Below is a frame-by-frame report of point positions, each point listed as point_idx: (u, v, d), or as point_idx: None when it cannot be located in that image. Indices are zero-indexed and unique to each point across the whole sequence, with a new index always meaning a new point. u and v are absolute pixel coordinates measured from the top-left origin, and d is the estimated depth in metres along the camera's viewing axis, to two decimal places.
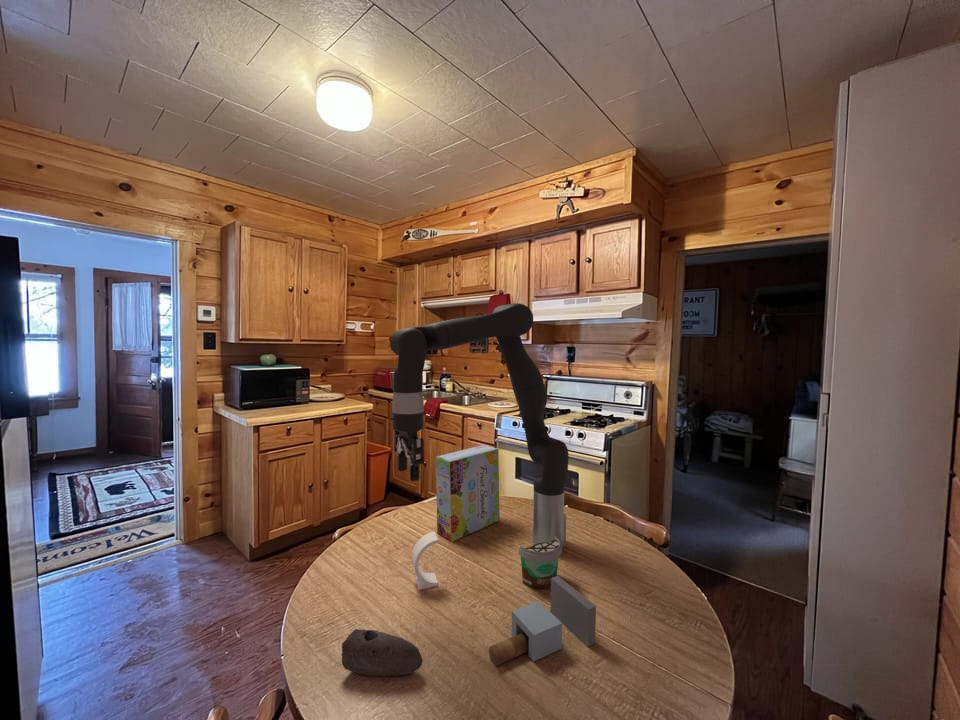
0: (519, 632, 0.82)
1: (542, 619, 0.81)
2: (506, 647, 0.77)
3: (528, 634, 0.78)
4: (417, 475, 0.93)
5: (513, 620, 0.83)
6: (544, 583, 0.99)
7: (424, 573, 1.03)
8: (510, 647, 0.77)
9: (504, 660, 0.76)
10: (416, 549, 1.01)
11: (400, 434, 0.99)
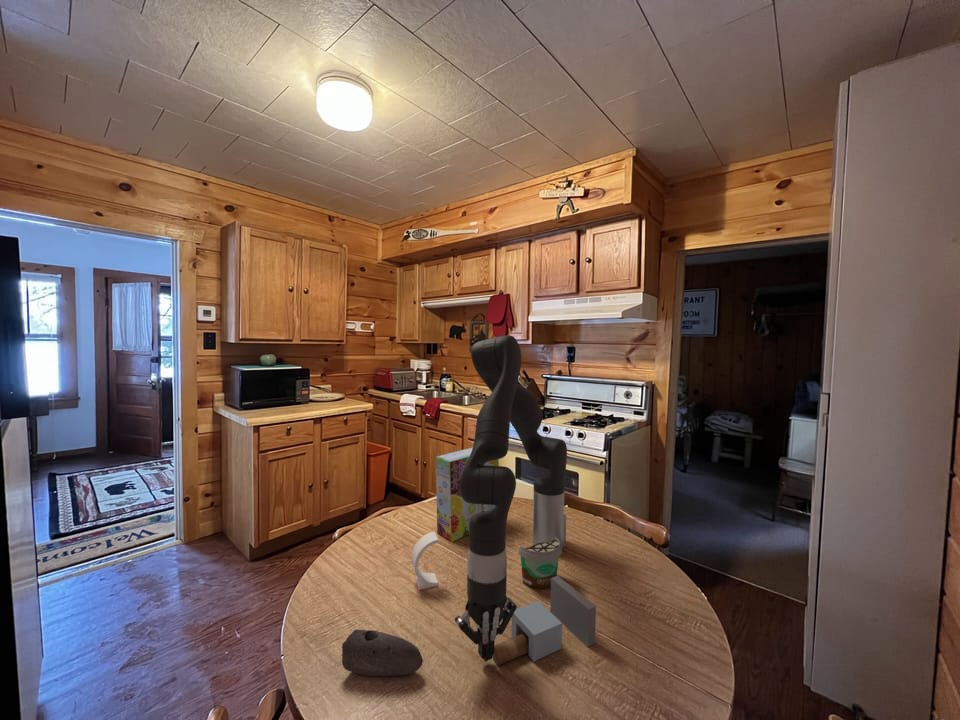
0: (519, 632, 0.82)
1: (542, 619, 0.81)
2: (509, 649, 0.77)
3: (528, 634, 0.78)
4: None
5: (512, 620, 0.83)
6: (544, 583, 0.99)
7: (424, 572, 1.03)
8: (513, 648, 0.77)
9: (506, 661, 0.76)
10: (416, 549, 1.01)
11: (477, 610, 0.73)
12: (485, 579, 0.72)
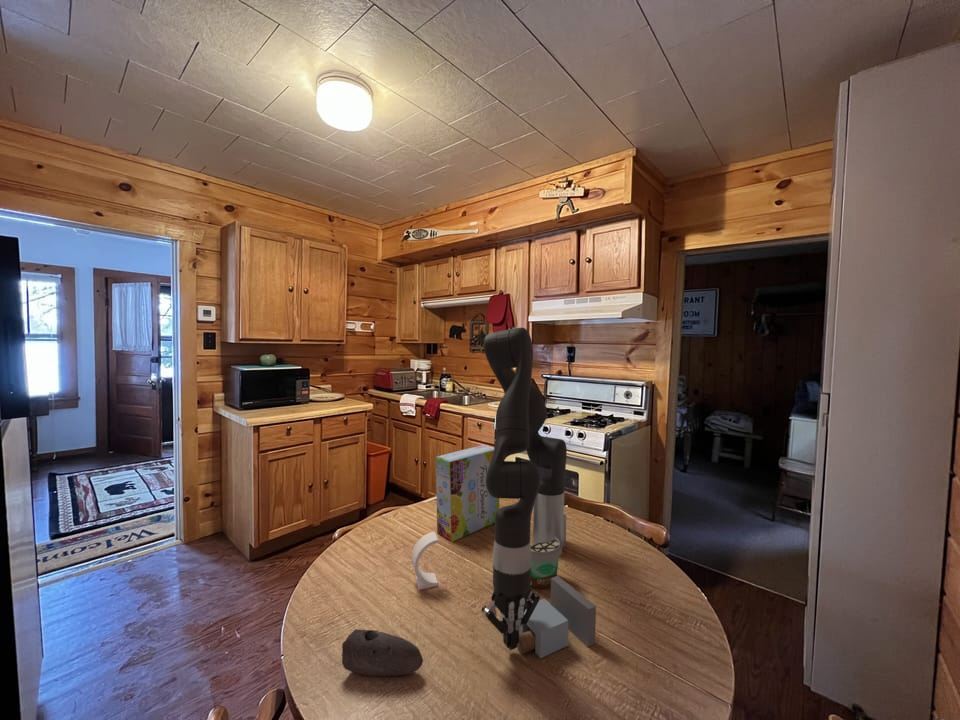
0: (525, 629, 0.83)
1: (548, 616, 0.81)
2: (533, 638, 0.79)
3: (535, 631, 0.79)
4: None
5: None
6: (544, 583, 0.99)
7: (424, 572, 1.03)
8: None
9: (530, 649, 0.79)
10: (416, 549, 1.01)
11: (503, 600, 0.76)
12: (511, 570, 0.74)
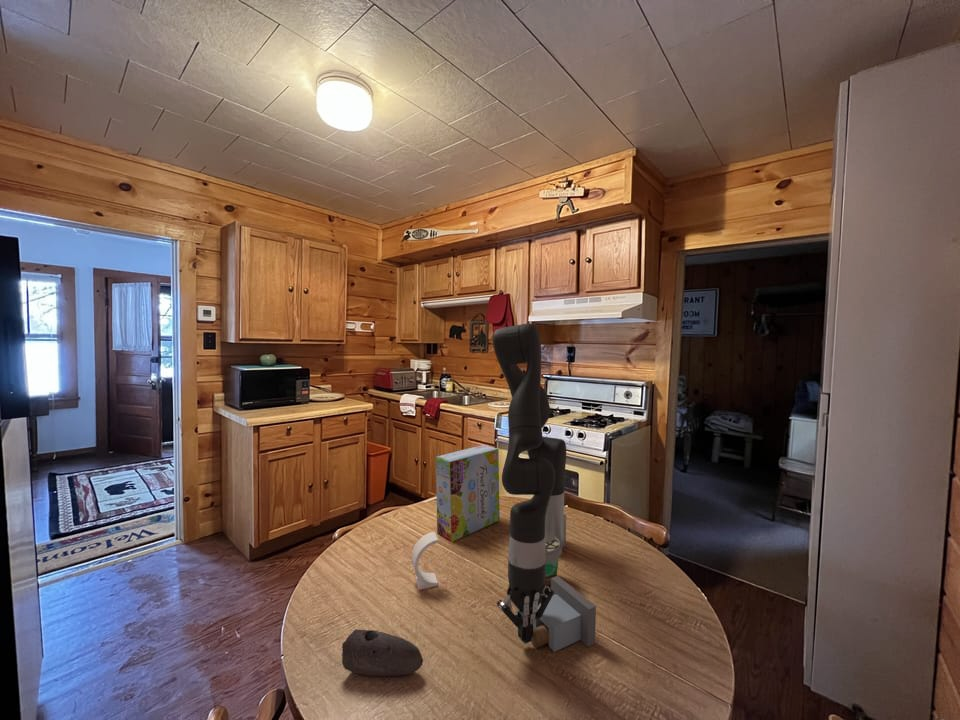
0: (538, 624, 0.85)
1: (561, 611, 0.83)
2: (547, 632, 0.81)
3: (548, 625, 0.80)
4: None
5: None
6: None
7: (424, 572, 1.03)
8: None
9: (544, 643, 0.80)
10: (416, 549, 1.01)
11: (519, 594, 0.78)
12: (527, 565, 0.76)
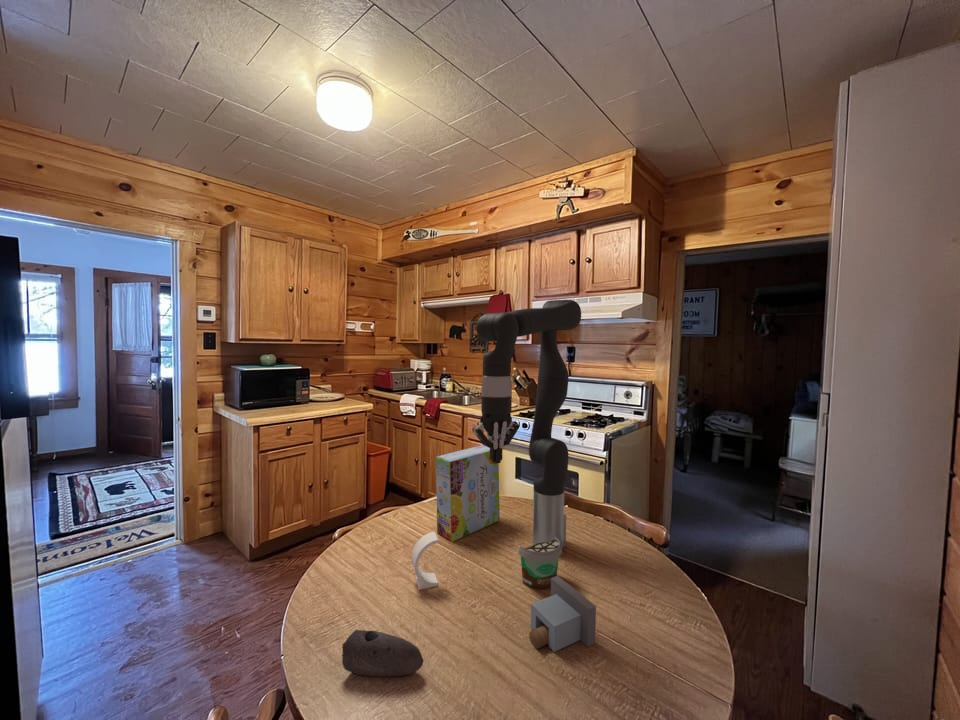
0: (538, 624, 0.85)
1: (561, 611, 0.83)
2: (547, 633, 0.81)
3: (548, 625, 0.80)
4: None
5: (532, 612, 0.85)
6: (544, 583, 0.99)
7: (424, 572, 1.03)
8: None
9: (544, 644, 0.80)
10: (416, 549, 1.01)
11: (489, 421, 0.96)
12: (495, 394, 0.94)
